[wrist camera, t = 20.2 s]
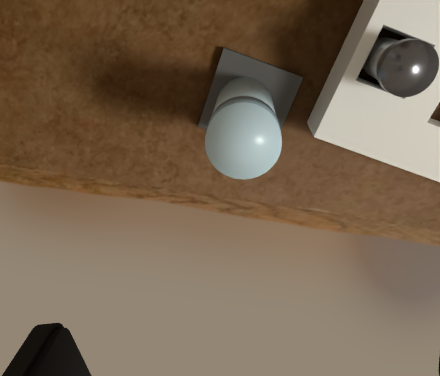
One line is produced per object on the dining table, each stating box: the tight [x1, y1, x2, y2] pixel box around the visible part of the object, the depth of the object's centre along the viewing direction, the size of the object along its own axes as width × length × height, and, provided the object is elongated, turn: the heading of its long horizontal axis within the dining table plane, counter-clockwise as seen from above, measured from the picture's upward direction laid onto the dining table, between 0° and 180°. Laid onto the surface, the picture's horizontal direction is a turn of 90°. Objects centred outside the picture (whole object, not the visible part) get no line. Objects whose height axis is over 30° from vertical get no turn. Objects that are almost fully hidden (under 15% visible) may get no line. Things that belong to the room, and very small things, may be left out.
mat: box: [198, 47, 303, 130], centre depth 33 cm, size 7×7×1 cm
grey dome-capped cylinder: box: [363, 37, 439, 97], centre depth 27 cm, size 4×4×6 cm
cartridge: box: [205, 77, 282, 179], centre depth 28 cm, size 5×5×10 cm
